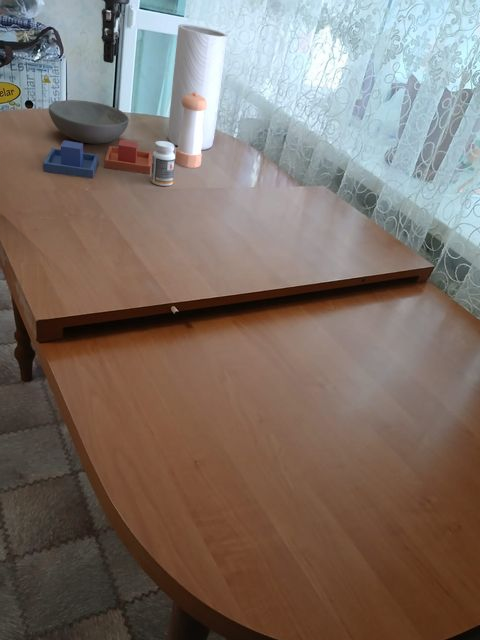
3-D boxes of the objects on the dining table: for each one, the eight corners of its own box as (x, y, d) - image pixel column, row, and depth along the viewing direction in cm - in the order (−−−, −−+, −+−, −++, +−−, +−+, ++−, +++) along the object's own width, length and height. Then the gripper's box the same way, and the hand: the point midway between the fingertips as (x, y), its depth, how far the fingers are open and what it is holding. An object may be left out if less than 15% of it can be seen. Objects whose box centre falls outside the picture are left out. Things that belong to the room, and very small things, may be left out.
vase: (210, 154, 167) (226, 39, 148) (163, 145, 165) (173, 27, 147) (214, 141, 178) (229, 32, 160) (170, 132, 177) (181, 21, 158)
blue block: (61, 166, 135) (60, 146, 132) (64, 160, 139) (63, 140, 136) (80, 169, 136) (80, 149, 133) (82, 162, 140) (82, 143, 137)
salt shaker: (195, 170, 153) (204, 98, 142) (171, 163, 154) (177, 90, 143) (203, 163, 159) (212, 93, 148) (180, 156, 160) (187, 86, 149)
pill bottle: (177, 184, 142) (181, 146, 136) (162, 188, 138) (166, 149, 132) (160, 176, 144) (164, 138, 138) (145, 180, 140) (148, 141, 134)
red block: (117, 164, 144) (118, 145, 141) (119, 158, 147) (119, 139, 144) (135, 166, 145) (136, 147, 142) (136, 160, 148) (137, 142, 145)
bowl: (103, 126, 168) (103, 99, 163) (141, 150, 158) (143, 122, 153) (36, 129, 154) (35, 100, 150) (73, 155, 144) (73, 124, 139)
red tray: (104, 167, 141) (104, 159, 140) (109, 153, 151) (109, 145, 149) (150, 174, 144) (150, 166, 143) (151, 159, 153) (152, 152, 152)
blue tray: (43, 171, 132) (42, 163, 131) (51, 155, 141) (51, 147, 140) (93, 178, 134) (93, 170, 133) (98, 162, 143) (98, 154, 142)
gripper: (98, -31, 121) (97, 50, 131) (90, -27, 110) (89, 61, 119) (132, -24, 123) (129, 56, 132) (128, -19, 112) (124, 67, 121)
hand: (110, 58), depth 126 cm, fingers open, 8 cm apart
